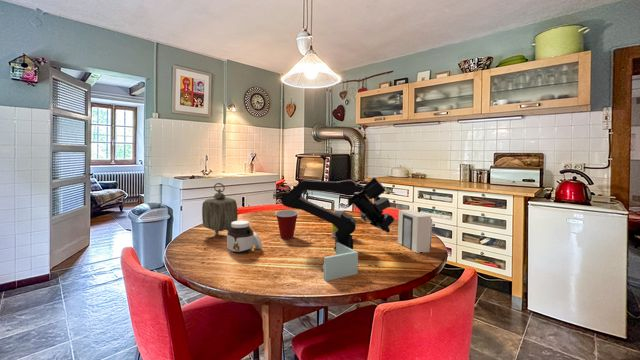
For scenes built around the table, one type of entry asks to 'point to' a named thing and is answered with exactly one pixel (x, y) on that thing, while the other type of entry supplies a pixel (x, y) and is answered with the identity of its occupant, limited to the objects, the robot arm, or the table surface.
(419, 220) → the housing
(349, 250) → the l-shaped corner panel
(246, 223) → the spread jar
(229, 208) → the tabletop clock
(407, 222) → the light grey rectangular block
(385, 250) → the table surface
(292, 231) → the plastic cup
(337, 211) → the supplement bottle
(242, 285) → the table surface
